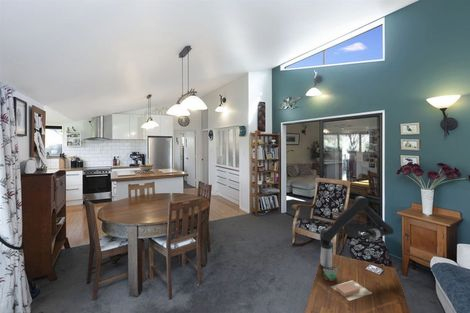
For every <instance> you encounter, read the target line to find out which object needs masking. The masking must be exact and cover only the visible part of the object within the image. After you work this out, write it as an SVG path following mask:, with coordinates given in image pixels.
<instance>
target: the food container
mask: <svg viewBox="0 0 470 313" xmlns="http://www.w3.org/2000/svg"><path fill="white" fill-rule="evenodd" d="M335 266H336V267H331V268H325V267H323V269H322V271H323V275H324V279H325V280H326V281H330V282H335V281H337V277H338V276H337V275H338V272H339V269H338V267H337V265H335Z"/></svg>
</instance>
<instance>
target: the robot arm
mask: <svg viewBox="0 0 470 313" xmlns="http://www.w3.org/2000/svg"><path fill="white" fill-rule="evenodd" d="M361 211H363V212H364V213H365V214H366V215H367V217H369V219H370V220H371V221H372V222H373V223H374V224H375V225H376V226H377V228H376V227H375V228H369V229H367V230H365V231H363V232H361V231H360V230H359V231H358V234H357V235H356V238H357V239H364V240H375V239H378V238H381V237H384V236H390V235H394V233H395V230H394V227H392V225H390V224H388V222H387V221H385V220H383V218H382V217H381V216H380V215H379V214H378V213H377V212H376V211H375V210H374V209H372V208H371V206H370V205H369V199H368V198H367V197H365V196H361V195H359V196H356V197H355V199H354V204H353V205H352V206H351V207H348V208H347V209H345V210H344V211H342V212H341V213H340V214H339V215H338V216H337V217H336V218H335V220H334V223H333V224H332V226H331V227H330V228H327V227H324V228H321V230H320V235H319V236H320V239H319V240H320V256H319V257H320V262H319V263H320V265H321V266H322V268H325V269H327V268H333V244H332V240H333V239H334V238H335V237H336V235H338V233H339V232H340V231H341V230H342V229H344V227H345V226H346V225H348V223H350V222H351V221H352V220H353V219H354V218H355V217H356V216H357V215H358V214H359V213H360V212H361Z"/></svg>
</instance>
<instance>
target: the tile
mask: <svg viewBox="0 0 470 313" xmlns="http://www.w3.org/2000/svg"><path fill="white" fill-rule="evenodd" d="M337 285H338V284H337ZM336 290H337V291H338V292H340V293H341V294H342V295H344V296H348V295H351V294H354V293H357V292H360V288H358V287H357V286H355V285H354V284H352V283H351V282H349V283H345V284H342V285H338V286H336ZM336 290H335V291H336ZM337 291H336V292H337ZM338 292H337V293H338ZM340 293H339V294H340ZM341 294H340V295H341ZM342 295H341V296H342ZM344 296H343V297H344Z"/></svg>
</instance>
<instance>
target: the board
mask: <svg viewBox="0 0 470 313" xmlns="http://www.w3.org/2000/svg"><path fill="white" fill-rule="evenodd" d="M349 282H351V283H352V284H354V285H355V286H357V287H358V288H360V292H357V293H354V294H351V295H348V296H344V295H342V294H341V293H340V292H338V291H337V290H336V286H338V285H342V284H345V283H349ZM330 288H332V289H333V290H334V291H336V292H337V293H338V294H339V295H341V296H342V297H343V298H345V299H347V300H348V301H349V302H350V301H353V300H356V299H359V298H364V297H365V296H368V295H371V294H373V292H372V291H370V290H368V289H367V288H366V287H364V286H363V285H361V284H359V283H358V282H356V281H355V280H353V279H352V280H349V281H345V282H341V283H338V284H335V285H331V286H330Z"/></svg>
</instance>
